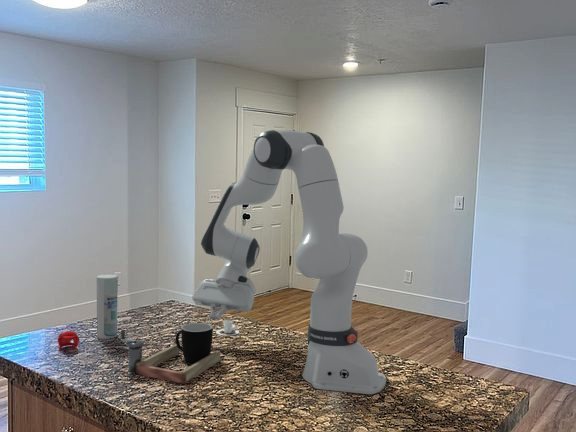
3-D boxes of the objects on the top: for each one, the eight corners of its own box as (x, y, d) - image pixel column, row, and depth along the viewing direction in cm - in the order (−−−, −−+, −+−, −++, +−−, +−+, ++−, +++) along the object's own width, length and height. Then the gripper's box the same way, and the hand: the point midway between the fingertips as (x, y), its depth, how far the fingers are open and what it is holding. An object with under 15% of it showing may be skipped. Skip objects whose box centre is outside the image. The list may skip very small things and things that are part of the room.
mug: (218, 359, 159) (218, 325, 159) (199, 368, 151) (200, 333, 151) (185, 352, 165) (185, 319, 164) (166, 361, 157) (166, 326, 156)
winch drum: (147, 368, 151) (147, 331, 150) (136, 373, 146) (137, 335, 145) (126, 364, 153) (127, 327, 152) (115, 369, 149) (116, 331, 148)
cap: (55, 347, 167) (55, 329, 166) (74, 344, 170) (74, 326, 169) (61, 353, 161) (61, 335, 160) (81, 350, 164) (81, 332, 164)
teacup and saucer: (229, 328, 193) (230, 317, 193) (245, 333, 188) (245, 321, 187) (211, 333, 186) (211, 321, 186) (226, 338, 181) (227, 326, 181)
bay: (220, 360, 158) (220, 350, 158) (183, 383, 141) (184, 372, 140) (176, 353, 164) (176, 343, 163) (136, 374, 146) (136, 363, 146)
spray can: (107, 332, 183) (107, 273, 181) (121, 335, 180) (121, 275, 178) (92, 337, 177) (92, 276, 175) (107, 340, 174) (107, 278, 172)
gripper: (199, 272, 179) (181, 308, 171) (255, 279, 171) (239, 317, 163) (205, 283, 184) (189, 319, 175) (260, 291, 176) (246, 328, 168)
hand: (214, 318), depth 169 cm, fingers closed
